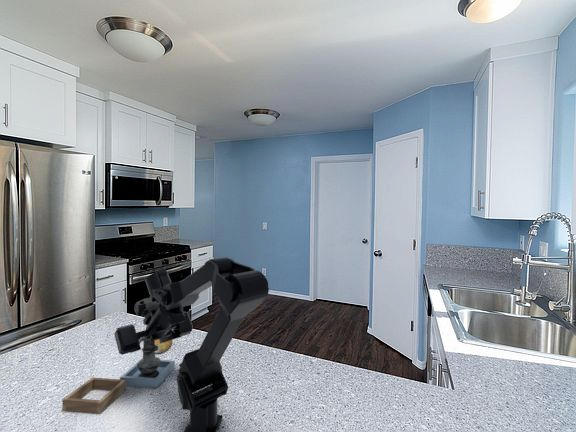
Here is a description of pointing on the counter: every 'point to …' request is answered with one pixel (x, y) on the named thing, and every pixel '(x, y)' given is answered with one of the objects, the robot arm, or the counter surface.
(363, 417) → the counter surface
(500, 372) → the counter surface
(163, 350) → the pastry
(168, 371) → the slate tray
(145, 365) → the grey stone chess piece
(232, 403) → the counter surface
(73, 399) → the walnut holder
